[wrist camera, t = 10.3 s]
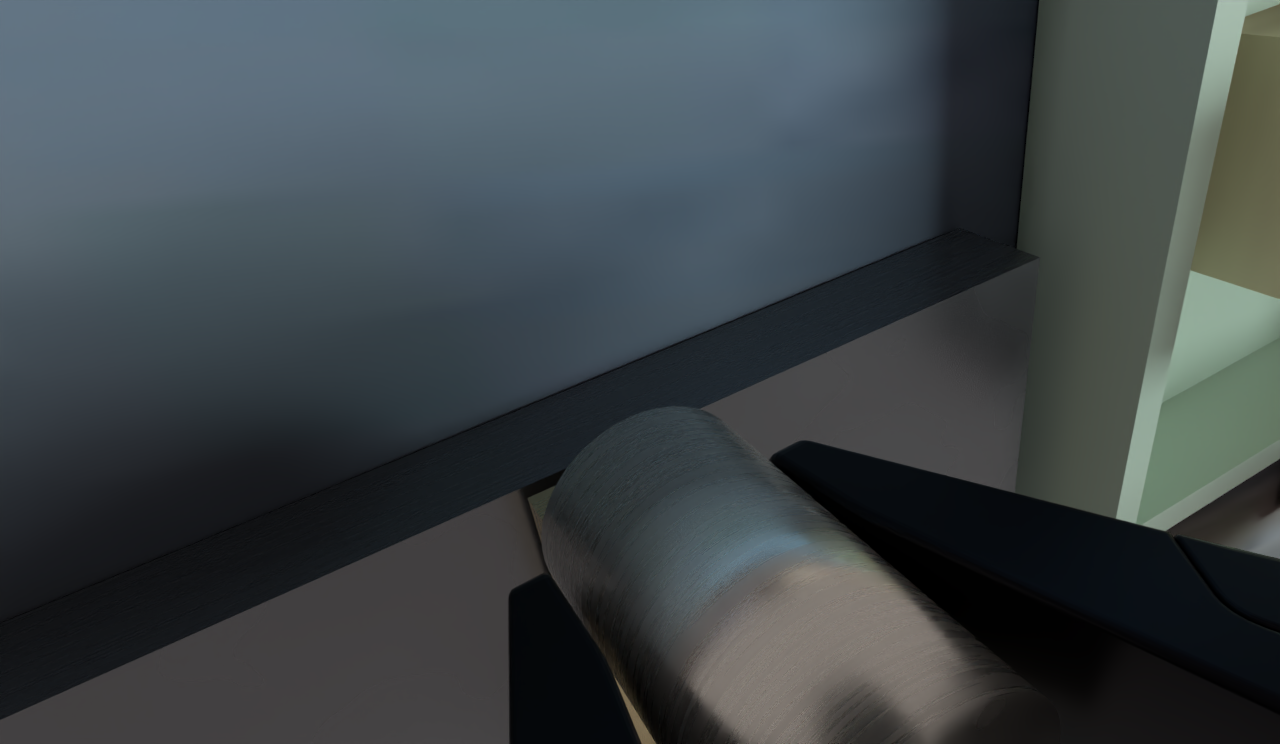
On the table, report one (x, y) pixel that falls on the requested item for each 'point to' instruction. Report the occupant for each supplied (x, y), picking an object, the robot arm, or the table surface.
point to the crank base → (506, 524)
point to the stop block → (1247, 169)
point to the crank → (759, 604)
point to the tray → (1137, 268)
